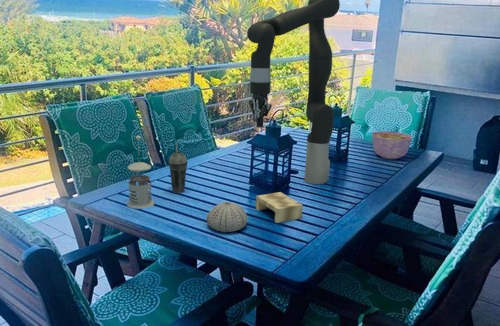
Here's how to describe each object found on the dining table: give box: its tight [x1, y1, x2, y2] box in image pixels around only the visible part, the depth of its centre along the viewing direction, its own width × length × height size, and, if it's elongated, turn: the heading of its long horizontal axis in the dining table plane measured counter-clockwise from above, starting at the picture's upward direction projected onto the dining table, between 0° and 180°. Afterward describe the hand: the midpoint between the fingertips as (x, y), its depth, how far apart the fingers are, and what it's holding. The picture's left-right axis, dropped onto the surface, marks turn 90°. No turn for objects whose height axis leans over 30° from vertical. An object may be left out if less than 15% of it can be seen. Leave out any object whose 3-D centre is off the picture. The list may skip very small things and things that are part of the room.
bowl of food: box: [371, 130, 413, 160], centre depth 242 cm, size 20×20×12 cm
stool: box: [255, 191, 304, 224], centre depth 165 cm, size 10×5×14 cm
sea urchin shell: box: [205, 201, 249, 233], centre depth 153 cm, size 13×14×8 cm
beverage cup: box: [168, 141, 189, 194], centre depth 182 cm, size 7×7×20 cm
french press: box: [126, 135, 155, 210], centre depth 168 cm, size 10×12×25 cm
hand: (259, 127), depth 178 cm, fingers closed
